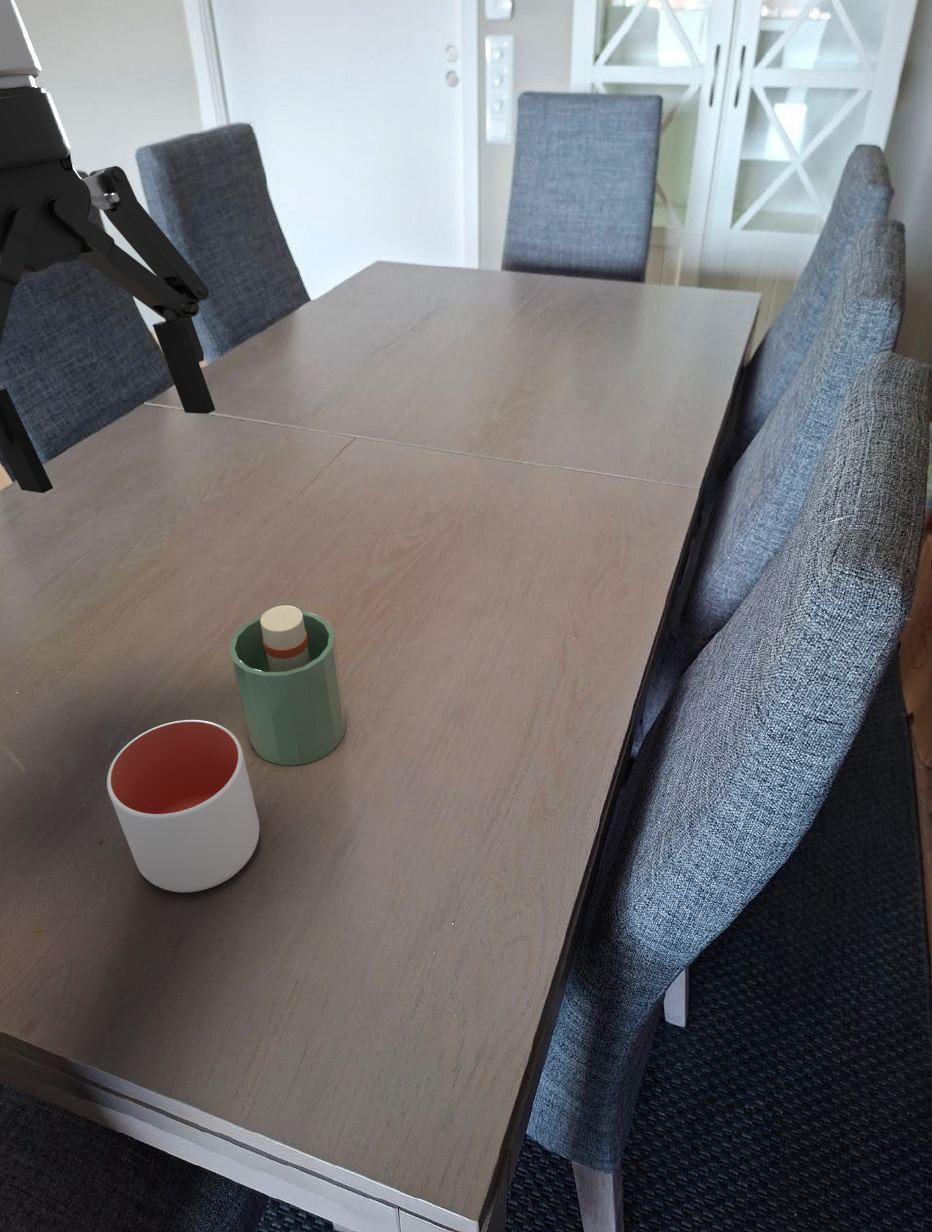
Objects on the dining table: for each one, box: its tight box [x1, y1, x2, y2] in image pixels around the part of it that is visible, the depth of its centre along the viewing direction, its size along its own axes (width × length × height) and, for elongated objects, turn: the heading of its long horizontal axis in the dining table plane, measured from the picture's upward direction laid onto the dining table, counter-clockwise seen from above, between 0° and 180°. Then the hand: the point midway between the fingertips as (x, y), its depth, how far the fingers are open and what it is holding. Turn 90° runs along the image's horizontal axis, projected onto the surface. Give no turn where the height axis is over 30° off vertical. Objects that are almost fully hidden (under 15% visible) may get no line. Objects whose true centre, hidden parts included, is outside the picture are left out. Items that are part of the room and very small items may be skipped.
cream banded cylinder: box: [260, 605, 310, 672], centre depth 79 cm, size 4×4×13 cm
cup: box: [106, 719, 260, 893], centre depth 69 cm, size 10×10×10 cm
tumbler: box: [228, 610, 346, 766], centre depth 80 cm, size 9×9×11 cm
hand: (125, 448), depth 60 cm, fingers open, 13 cm apart
